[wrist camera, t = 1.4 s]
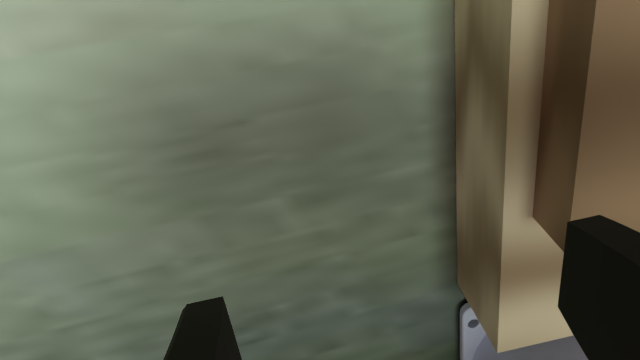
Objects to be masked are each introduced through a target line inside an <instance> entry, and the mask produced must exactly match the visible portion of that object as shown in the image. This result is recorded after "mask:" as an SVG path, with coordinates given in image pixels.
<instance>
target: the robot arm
mask: <svg viewBox="0 0 640 360" xmlns="http://www.w3.org/2000/svg"><path fill="white" fill-rule="evenodd" d="M558 308H559V310H560V312H561V313H562V315H563V317H564V319H565V321H566V323H567V324H568V326H569V328H570V330H571V332H572V333H573V336H569V337H565V338H560V339H556V340H552V341H547V342H543V343H539V344H534V345H530V346H526V347H522V348H517V349H513V350H509V351H504V352H500V353H497V352H496V350H495V348H494V346H493V345H492V343H491V341H490V339H489V338H488V336H487V334H486V333H485V331H484V329H483V327H482V326H481V324H480V322H479V320H478V319H477V317H476V315H475V313H474V312H473V310H472V308H471V306H470V305H469V303H466V304H465V305H463V306H462V308H461V309H460V360H640V232H638V231H635V230H633V229H631V228H629V227H627V226H625V225H623V224H620V223H618V222H616V221H614V220H611V219H609V218H606V217H604V216H602V215H596V216H592V217H587V218H582V219H578V220H573V221H569V222H567V230H566V238H565V247H564V256H563V264H562V273H561V282H560V290H559V299H558ZM473 319H474V320H473ZM471 320H473V321H471ZM164 360H242V359H241V355H240V352H239V349H238V345H237V342H236V339H235V335H234V332H233V329H232V325H231V322H230V319H229V315H228V312H227V309H226V305H225V302H224V299H223V297H218V298H214V299H209V300H204V301H200V302H195V303H191V304H187V305H186V307H185V308H184V309H183V310H182V313H181V316H180V319H179V322H178V324H177V327H176V330H175V332H174V335H173V338H172V340H171V343H170V345H169V348H168V350H167V353H166V355H165V357H164Z"/></svg>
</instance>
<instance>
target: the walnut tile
mask: <svg viewBox="0 0 640 360" xmlns="http://www.w3.org/2000/svg"><path fill="white" fill-rule="evenodd" d="M596 215H602V216H604V217H606V218H609V219H611V220H614V221H616V222H618V223H620V224H623V225H625V226H627V227H629V228H631V229H633V230H635V231H638V232H640V0H549V7H548V20H547V33H546V47H545V60H544V73H543V86H542V100H541V113H540V126H539V139H538V153H537V166H536V179H535V192H534V206H533V218H534V219H535V220H536V221H537V223H538V224H539V225H540V226H541V227H542V228H543V229H544V230H545V232H546V233H547V234H548V235H549V236H550V237H551V238H552V240H553V241H554V242H555V243H556V244H557V245H558V246H559V247H560V249H561V250H562V251H563V252H564V247H565V238H566V230H567V222H569V221H573V220H578V219H582V218H587V217H592V216H596Z"/></svg>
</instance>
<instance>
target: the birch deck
mask: <svg viewBox="0 0 640 360" xmlns="http://www.w3.org/2000/svg"><path fill="white" fill-rule="evenodd" d="M548 7H549V0H454V9H455V107H456V206H457V284H458V286H459V287H460V289H461V291H462V292H463V294H464V296H465V298H466V299H467V301H468V303H469V305H470V306H471V308H472V310H473V312H474V313H475V315H476V317H477V319H478V320H479V322H480V324H481V326H482V327H483V329H484V331H485V333H486V334H487V336H488V338H489V339H490V341H491V343H492V345H493V346H494V348H495V350H496V352H497V353H500V352H504V351H509V350H513V349H517V348H522V347H526V346H530V345H534V344H539V343H543V342H547V341H552V340H556V339H560V338H565V337H569V336H573V333H572V332H571V330H570V328H569V326H568V324H567V323H566V321H565V319H564V317H563V315H562V313H561V312H560V310H559V308H558V299H559V290H560V282H561V273H562V264H563V256H564V252H563V251H562V250H561V249H560V247H559V246H558V245H557V244H556V243H555V242H554V241H553V240H552V238H551V237H550V236H549V235H548V234H547V233H546V232H545V230H544V229H543V228H542V227H541V226H540V225H539V224H538V223H537V221H536V220H535V219H534V218H533V206H534V192H535V179H536V166H537V153H538V139H539V126H540V113H541V100H542V86H543V73H544V60H545V47H546V33H547V20H548Z"/></svg>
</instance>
